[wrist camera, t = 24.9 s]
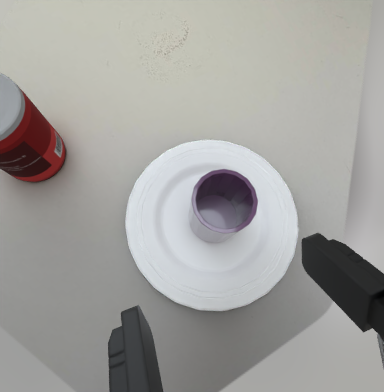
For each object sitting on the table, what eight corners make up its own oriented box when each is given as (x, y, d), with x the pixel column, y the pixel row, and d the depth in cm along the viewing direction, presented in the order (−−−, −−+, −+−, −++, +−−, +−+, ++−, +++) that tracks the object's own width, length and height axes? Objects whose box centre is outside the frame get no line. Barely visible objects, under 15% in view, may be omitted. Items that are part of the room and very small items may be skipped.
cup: (220, 253, 31) (234, 246, 23) (178, 223, 32) (178, 207, 24) (248, 212, 33) (269, 192, 25) (207, 184, 33) (215, 157, 26)
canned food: (40, 118, 37) (-15, 55, 26) (80, 154, 36) (39, 104, 25) (-7, 155, 35) (-87, 104, 24) (33, 195, 34) (-32, 160, 23)
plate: (321, 271, 33) (329, 271, 31) (158, 338, 30) (156, 342, 28) (253, 127, 38) (257, 120, 36) (108, 172, 35) (104, 166, 33)
